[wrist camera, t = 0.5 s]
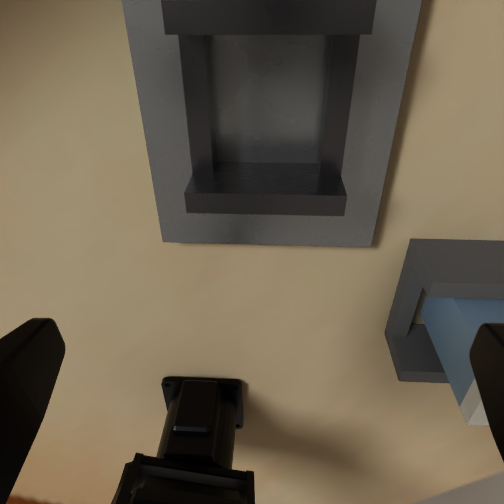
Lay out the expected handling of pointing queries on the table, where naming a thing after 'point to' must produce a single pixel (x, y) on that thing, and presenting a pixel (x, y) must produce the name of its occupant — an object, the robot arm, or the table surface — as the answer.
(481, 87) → the table surface
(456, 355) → the plug
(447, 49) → the table surface
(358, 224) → the port
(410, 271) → the holster
